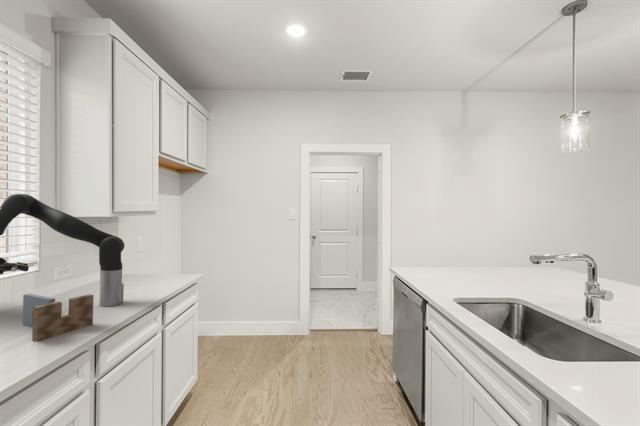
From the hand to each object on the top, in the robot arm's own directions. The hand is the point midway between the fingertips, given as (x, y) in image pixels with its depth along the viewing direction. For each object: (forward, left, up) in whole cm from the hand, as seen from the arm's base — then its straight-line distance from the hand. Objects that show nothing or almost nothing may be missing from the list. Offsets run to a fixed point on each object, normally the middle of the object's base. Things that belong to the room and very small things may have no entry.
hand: (15, 270), depth 136 cm
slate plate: (0, +15, -21) cm, 26 cm away
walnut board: (-1, +29, -21) cm, 36 cm away
